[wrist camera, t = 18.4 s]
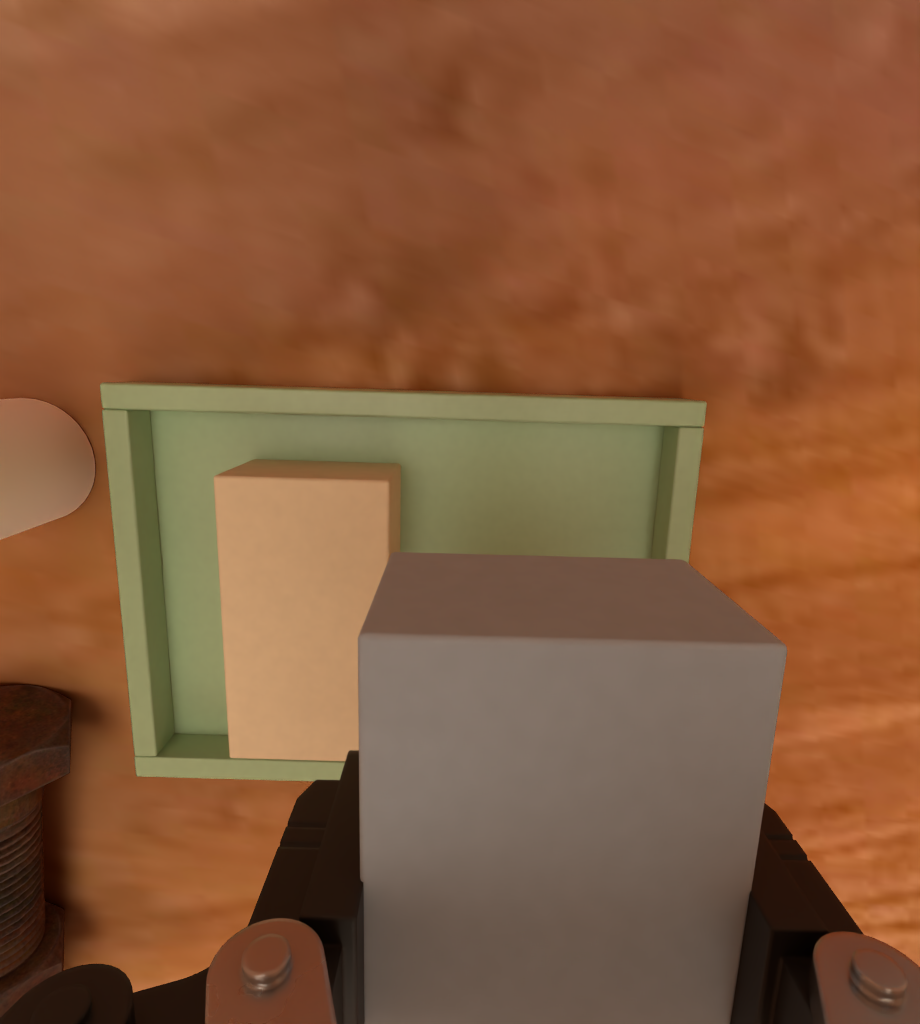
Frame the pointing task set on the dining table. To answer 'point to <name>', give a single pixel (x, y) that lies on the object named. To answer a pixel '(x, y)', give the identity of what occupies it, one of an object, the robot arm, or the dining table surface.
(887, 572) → the dining table surface
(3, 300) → the dining table surface
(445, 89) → the dining table surface
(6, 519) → the tube
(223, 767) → the tray
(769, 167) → the dining table surface
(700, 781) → the blue-grey pad
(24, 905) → the bolt
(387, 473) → the cream pad
